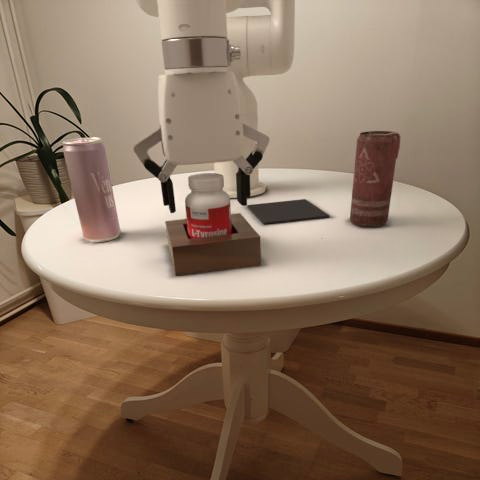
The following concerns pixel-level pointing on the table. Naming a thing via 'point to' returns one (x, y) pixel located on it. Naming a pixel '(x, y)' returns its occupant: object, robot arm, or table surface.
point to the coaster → (286, 211)
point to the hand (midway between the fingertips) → (207, 206)
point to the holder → (213, 248)
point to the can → (373, 177)
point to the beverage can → (92, 188)
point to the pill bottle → (207, 206)
